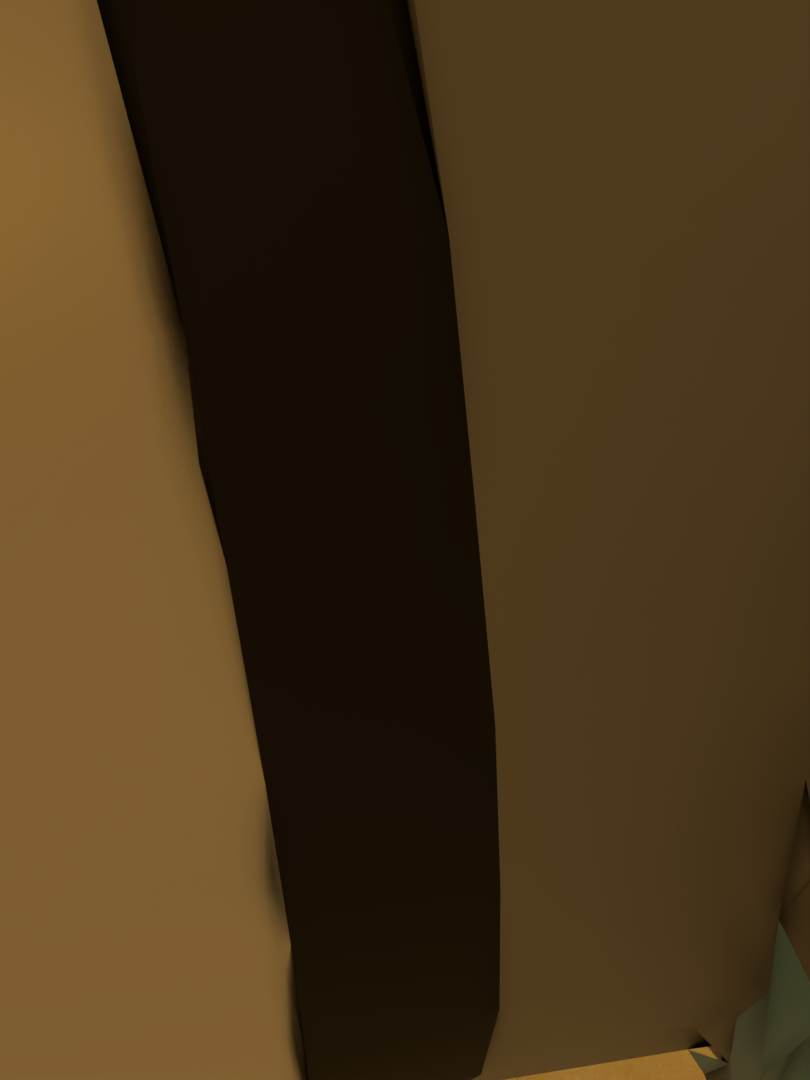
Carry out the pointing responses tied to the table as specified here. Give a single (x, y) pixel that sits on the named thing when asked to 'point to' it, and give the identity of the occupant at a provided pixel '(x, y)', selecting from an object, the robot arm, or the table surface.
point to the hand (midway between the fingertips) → (590, 760)
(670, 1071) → the table surface
